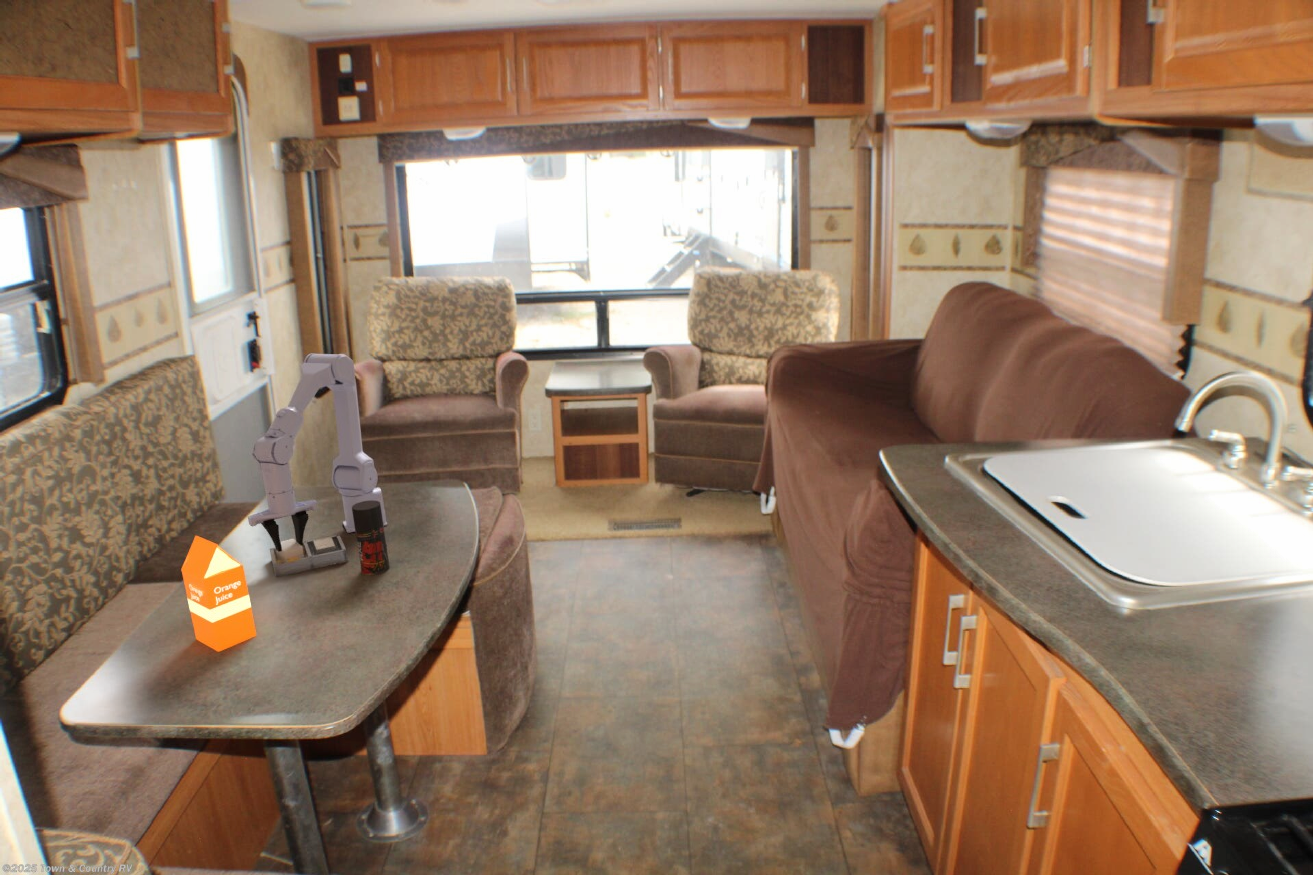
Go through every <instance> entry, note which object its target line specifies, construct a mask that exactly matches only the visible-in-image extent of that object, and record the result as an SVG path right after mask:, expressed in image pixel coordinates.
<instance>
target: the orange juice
mask: <svg viewBox="0 0 1313 875" xmlns="http://www.w3.org/2000/svg"><path fill="white" fill-rule="evenodd" d="M180 571H181V573H182V578H183V583H184V587H185V593H186V598H187V602H188V608H189V612H190V615H191V621H192V625H193V629H194V635H195V640H197V641H199V642H200V643H202V644H204V645H205V646H208V647H209V648H211V649H213V650H215V651H216V652H221V651H223V650H226V649H228V648H231V647H233V646H236V645H238V644H241V643H242V642H246V641H247V640H249V639H252V638H254V637H257V632H256V626H255V625H256V624H255V621H254V615H253V610H252V604H251V600H250V599H251V598H250V597H251V596H250V594H249V589H248V585H247V584H248V583H247V579H246V575H245V573H246V572H245V568H244V565H243V564H241V563H240V562H239V561H238V560H236V559H235V558H234V557H233V556H231V554H229V553H228V552H226V551H225V550H224V549H222V548H221V547H220V546H219V544H218V543H215V542H213V541H210V540H208V539H205V538H203V537H200V536H198V535H195V536H194V539H193V541H192V542H191V545H190V548H189V551H188V553H187V555H186V558H185V560H184V562H183V564H182V567H181V569H180Z"/></svg>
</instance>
